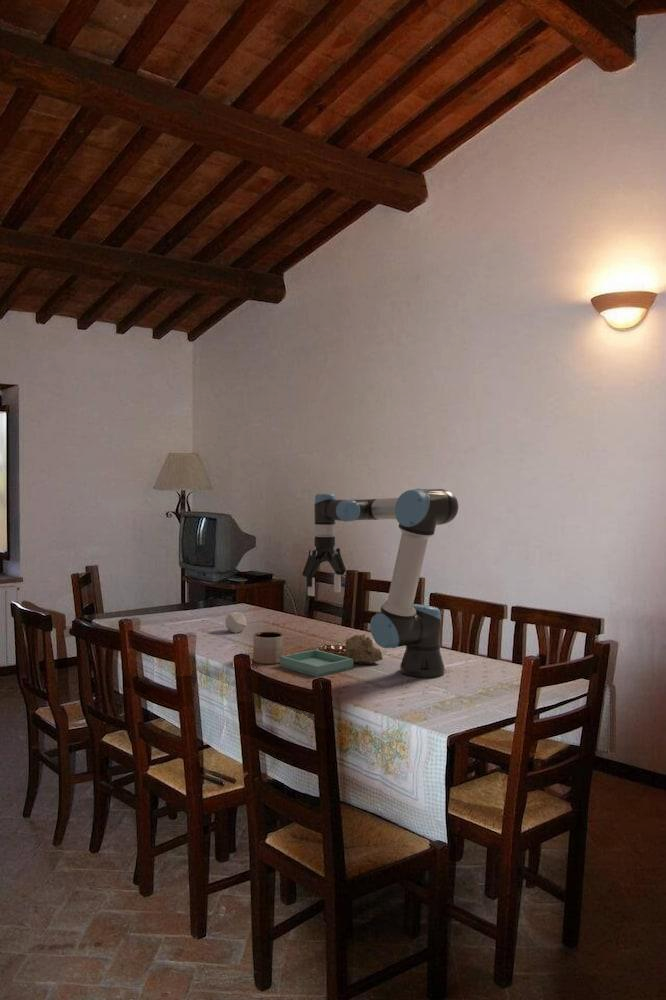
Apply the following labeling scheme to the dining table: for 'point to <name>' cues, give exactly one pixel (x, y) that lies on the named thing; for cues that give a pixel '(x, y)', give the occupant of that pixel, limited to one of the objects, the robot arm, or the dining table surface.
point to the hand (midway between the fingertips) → (324, 594)
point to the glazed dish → (316, 663)
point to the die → (235, 622)
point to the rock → (362, 650)
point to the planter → (268, 647)
